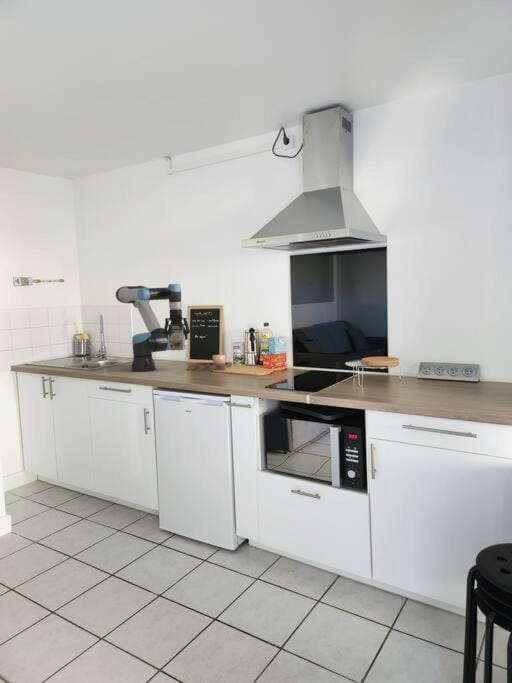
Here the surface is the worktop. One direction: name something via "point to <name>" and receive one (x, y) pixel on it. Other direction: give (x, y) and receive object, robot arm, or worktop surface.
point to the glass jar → (176, 337)
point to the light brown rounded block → (218, 360)
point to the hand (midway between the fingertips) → (177, 345)
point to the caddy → (209, 366)
